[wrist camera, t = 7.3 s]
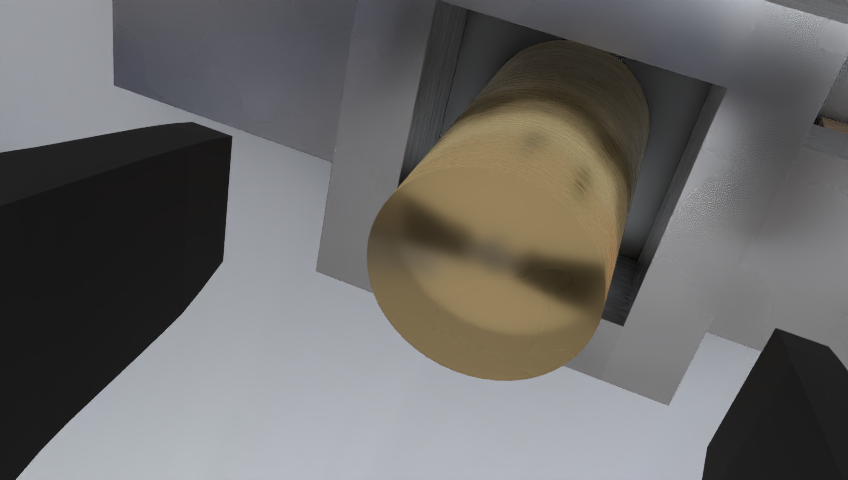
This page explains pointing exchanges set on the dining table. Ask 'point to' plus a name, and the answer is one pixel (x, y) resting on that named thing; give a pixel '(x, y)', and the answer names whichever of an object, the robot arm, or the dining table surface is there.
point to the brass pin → (515, 216)
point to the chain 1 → (281, 72)
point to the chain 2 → (698, 184)
